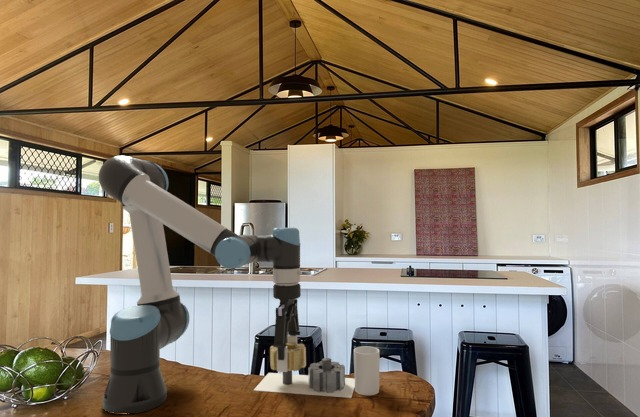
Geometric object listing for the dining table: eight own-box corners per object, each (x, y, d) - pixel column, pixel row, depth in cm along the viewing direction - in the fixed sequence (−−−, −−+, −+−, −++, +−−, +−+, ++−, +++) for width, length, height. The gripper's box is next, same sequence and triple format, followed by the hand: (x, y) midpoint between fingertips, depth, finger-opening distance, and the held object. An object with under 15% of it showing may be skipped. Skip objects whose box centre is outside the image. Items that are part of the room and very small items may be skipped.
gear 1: (265, 370, 115) (265, 352, 115) (276, 359, 124) (276, 341, 124) (301, 372, 113) (300, 353, 113) (309, 360, 122) (308, 342, 122)
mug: (378, 402, 109) (378, 354, 109) (352, 400, 110) (351, 353, 111) (382, 387, 119) (381, 343, 119) (358, 385, 120) (357, 342, 120)
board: (253, 395, 114) (253, 363, 114) (268, 377, 126) (268, 348, 126) (351, 403, 108) (351, 369, 109) (357, 384, 121) (356, 353, 121)
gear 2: (312, 394, 111) (312, 374, 111) (306, 380, 120) (306, 362, 120) (348, 391, 112) (348, 371, 113) (339, 377, 122) (339, 359, 122)
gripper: (289, 290, 107) (290, 380, 107) (309, 278, 129) (309, 352, 129) (260, 289, 109) (261, 378, 108) (284, 277, 131) (285, 351, 130)
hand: (287, 364), depth 119 cm, fingers closed on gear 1, 10 cm apart
